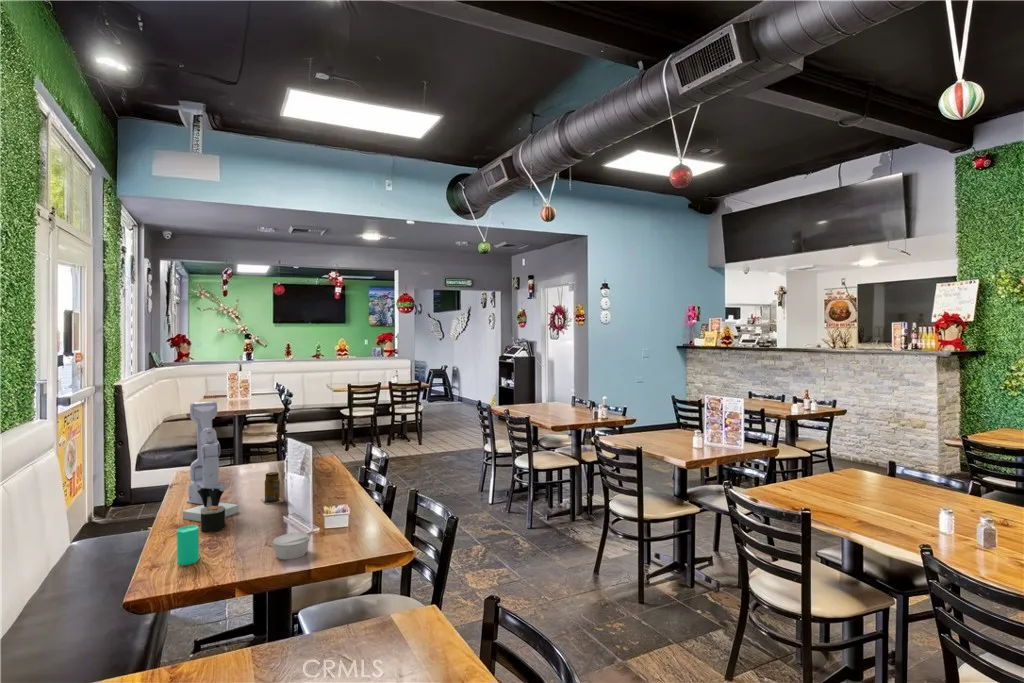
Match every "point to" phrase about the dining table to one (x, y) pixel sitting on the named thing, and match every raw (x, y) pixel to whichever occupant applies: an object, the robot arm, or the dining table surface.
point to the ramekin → (291, 545)
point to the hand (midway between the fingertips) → (211, 506)
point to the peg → (209, 501)
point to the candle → (187, 545)
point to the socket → (195, 512)
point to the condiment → (272, 488)
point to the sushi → (212, 519)
